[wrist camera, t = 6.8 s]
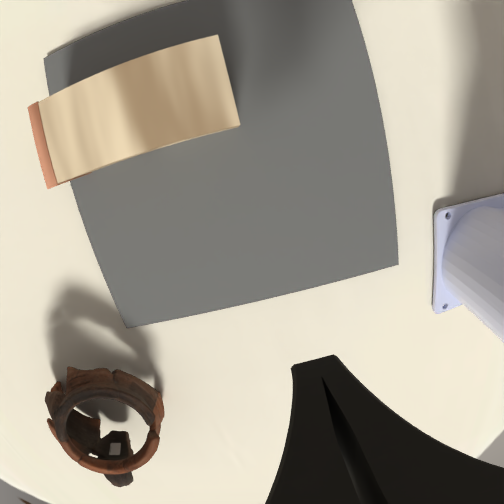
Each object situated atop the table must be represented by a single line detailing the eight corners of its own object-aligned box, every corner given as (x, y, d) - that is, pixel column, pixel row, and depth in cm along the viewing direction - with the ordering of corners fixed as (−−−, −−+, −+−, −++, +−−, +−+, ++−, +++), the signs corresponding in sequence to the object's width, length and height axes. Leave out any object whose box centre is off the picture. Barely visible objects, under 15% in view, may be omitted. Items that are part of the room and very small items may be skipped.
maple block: (217, 33, 11) (27, 107, 11) (240, 125, 12) (47, 189, 12) (220, 56, 14) (66, 109, 15) (238, 128, 16) (83, 176, 16)
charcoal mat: (342, -17, 13) (344, -20, 13) (395, 262, 20) (398, 264, 19) (46, 59, 14) (43, 58, 13) (128, 324, 20) (126, 328, 20)
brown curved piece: (35, 351, 21) (17, 392, 14) (136, 328, 26) (156, 360, 18) (84, 461, 23) (91, 519, 15) (172, 439, 27) (201, 490, 20)
